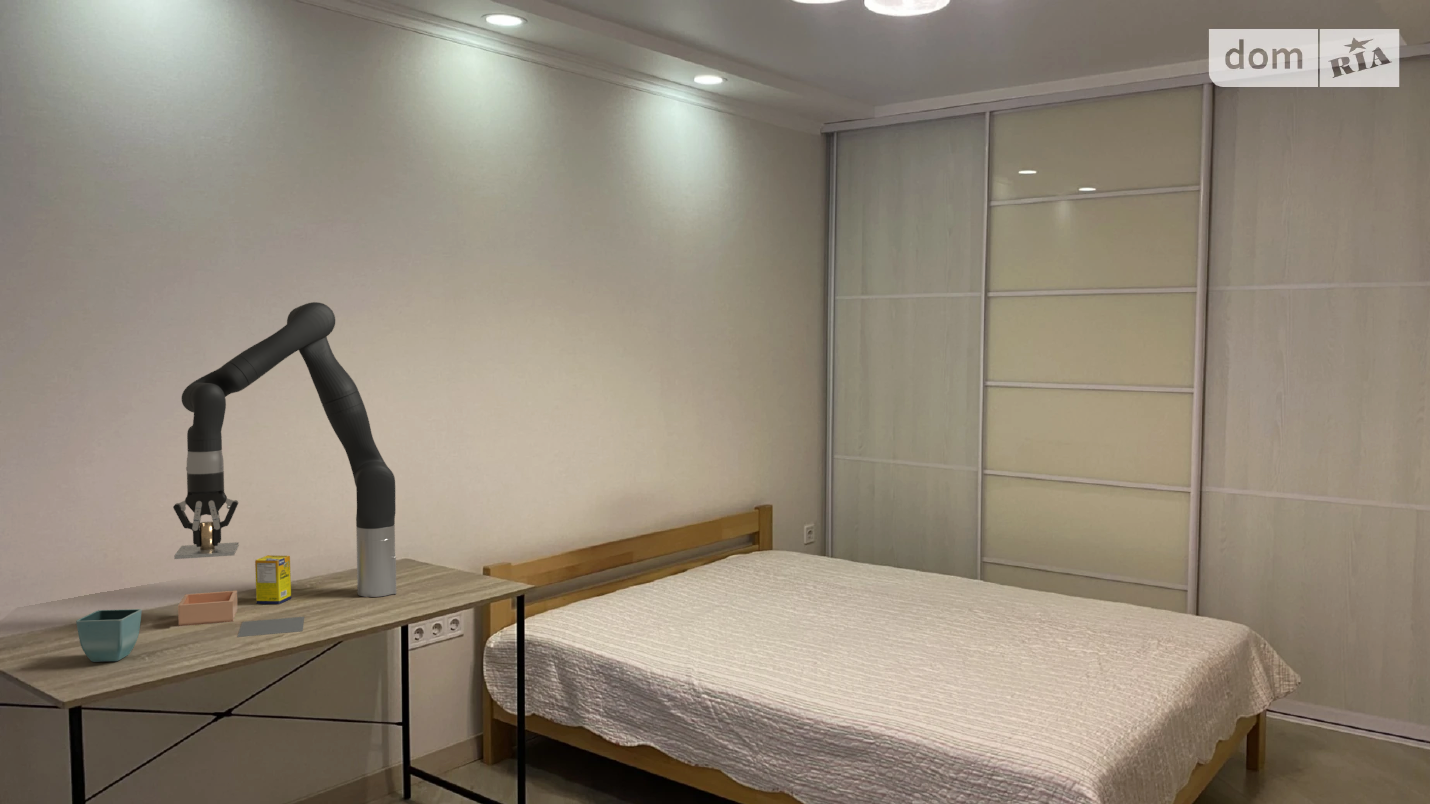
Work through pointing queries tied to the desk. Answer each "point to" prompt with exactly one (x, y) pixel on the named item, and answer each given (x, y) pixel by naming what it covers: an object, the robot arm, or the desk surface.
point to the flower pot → (109, 633)
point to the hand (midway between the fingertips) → (207, 545)
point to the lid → (206, 545)
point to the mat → (271, 626)
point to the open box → (207, 608)
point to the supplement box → (273, 579)
